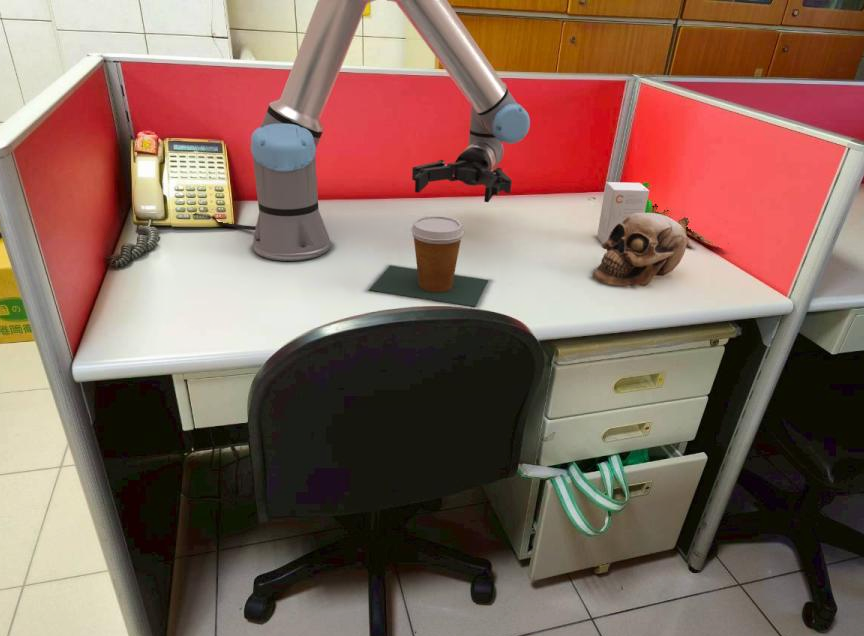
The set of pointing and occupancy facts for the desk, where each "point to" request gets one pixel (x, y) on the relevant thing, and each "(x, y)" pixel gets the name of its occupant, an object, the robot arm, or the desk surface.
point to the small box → (620, 205)
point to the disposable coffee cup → (436, 251)
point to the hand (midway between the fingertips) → (451, 190)
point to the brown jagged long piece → (692, 233)
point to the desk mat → (408, 285)
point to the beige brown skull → (641, 250)
